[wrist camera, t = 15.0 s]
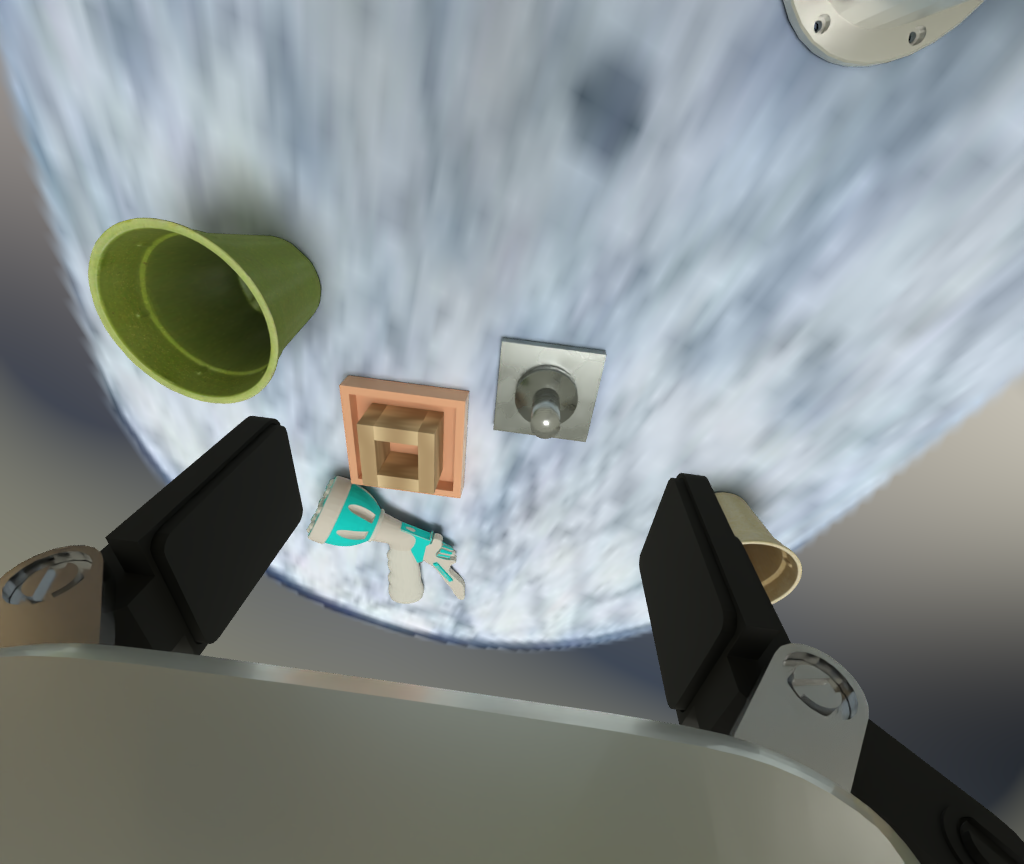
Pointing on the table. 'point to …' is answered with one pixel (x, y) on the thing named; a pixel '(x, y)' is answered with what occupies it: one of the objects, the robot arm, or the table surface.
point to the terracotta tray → (450, 401)
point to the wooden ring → (401, 428)
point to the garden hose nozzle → (383, 539)
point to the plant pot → (201, 304)
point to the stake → (547, 389)
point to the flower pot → (762, 548)
